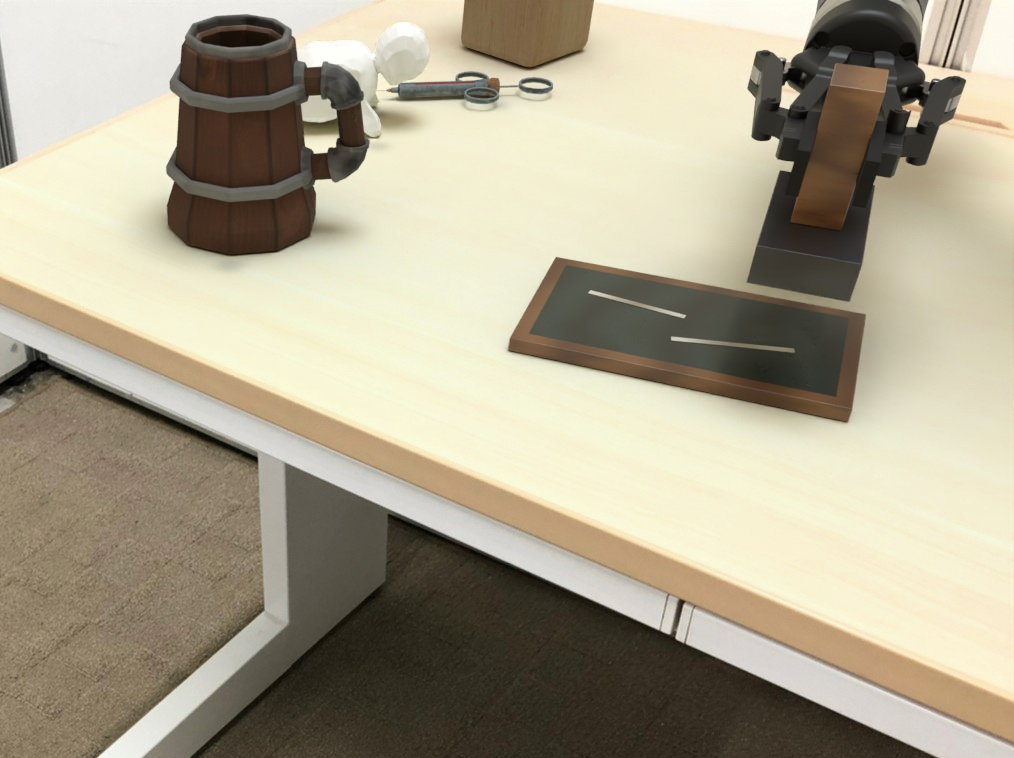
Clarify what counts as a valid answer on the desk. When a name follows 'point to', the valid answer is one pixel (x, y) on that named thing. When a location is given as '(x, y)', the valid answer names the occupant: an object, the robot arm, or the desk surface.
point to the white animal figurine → (367, 68)
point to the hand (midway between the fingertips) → (831, 178)
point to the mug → (253, 136)
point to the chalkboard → (695, 337)
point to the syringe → (467, 87)
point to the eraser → (824, 197)
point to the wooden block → (526, 28)
